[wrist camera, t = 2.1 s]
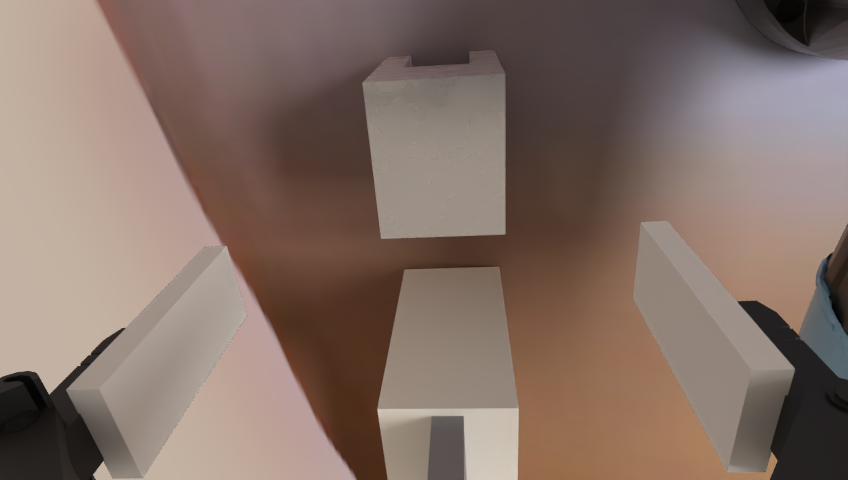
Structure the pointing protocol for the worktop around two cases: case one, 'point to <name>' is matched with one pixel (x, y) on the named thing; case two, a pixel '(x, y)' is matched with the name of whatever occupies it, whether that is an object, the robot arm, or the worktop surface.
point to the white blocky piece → (450, 380)
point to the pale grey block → (438, 146)
